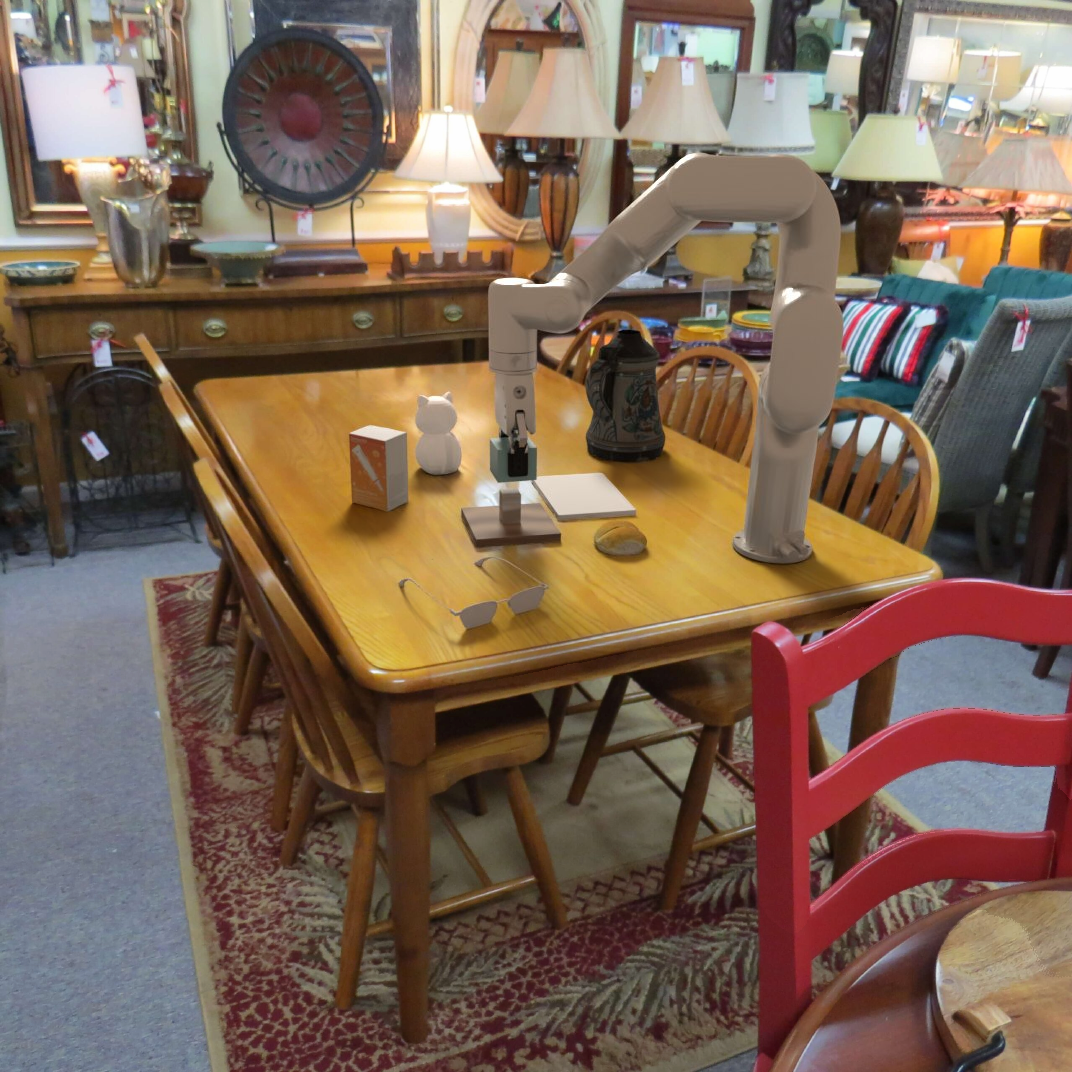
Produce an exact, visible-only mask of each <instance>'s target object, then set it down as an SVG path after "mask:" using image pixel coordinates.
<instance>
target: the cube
mask: <svg viewBox="0 0 1072 1072" xmlns="http://www.w3.org/2000/svg"><path fill="white" fill-rule="evenodd" d="M515 440H518V439H517V438H513V441H514V442H515ZM527 443H528V475H527V476H522V477H509V476H508V453H509V452H510V449H509V437H503V438H499V437H490V438H489V471H490V473H491V474H492V477H494V479H495V481H496V482H497V483H499V484H501V483H513V482H514V483H515V482H528V481H531V480H537V476H538V475H537V473H538V472H537V471H538V469H537V468H538V447H537V446H536V444H535V443H534V442H533V441H532V440H531V438H530V437H529V436H528V440H527Z"/></svg>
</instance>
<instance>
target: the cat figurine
mask: <svg viewBox="0 0 1072 1072" xmlns="http://www.w3.org/2000/svg"><path fill="white" fill-rule="evenodd" d="M416 402H417V409H416V411H415V418H414V420H415V421H414V423H415V425H416V428H417V430H419V431H420V432H421V433H423V434H422V435H421V436H420V437H419V439H418V440H417V443H416V445H415V450H414V451H415V452H414V454H415V459H416V462H417V465H419V467H420V468H421V469H422V470H423V471H424V472H426V473H428V474H430V475H434V476H438V475H440V476H441V475H448V474H454V473H455V472H457V471H458V470H459V468H460V466H461V464H462V460H463V459H462V457H463V456H462V455H463V454H462V446H461V443H460V440H459V439H458V437H457V435H455V434H454V433H453V432H452V430H453V429H454V428H455V426H456V424H457V422H458V421H457V420H458V414H457V410H456V408H455V406H454V405H453V404H454V403H453V402H454V400H453V395H452V393H451V392H450V391H447V392H446V393H444V394H443V395H442V396H439V395H432V396H428V397H427V396H425V395H423V394H418V396H417V401H416Z"/></svg>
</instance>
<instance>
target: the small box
mask: <svg viewBox="0 0 1072 1072" xmlns="http://www.w3.org/2000/svg"><path fill="white" fill-rule="evenodd" d="M348 438H349V439H348V441H349V445H348V446H349V463H350V464H349V466H350V484H351V485H350V487H351V503H352V504H357V505H361V506H366V507H369V508H374V509H376V510H381V511H384V512H385V513H386V512H387V513H388V512H390V511H392V510H394V509H396V508H398V507H400V506H402V505H404V504H406V503H408V502H409V472H408V471H409V469H408V467H409V466H408V433H407V431H403V430H402V431H401V430H396V429H392V428H389V427H382V426H378V425H373V424H372V425H371V424H370V425H366V426H364V427H363V426H362V427H361V428H359V429H356V430H354V431H351V432H349V433H348Z"/></svg>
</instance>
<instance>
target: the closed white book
mask: <svg viewBox="0 0 1072 1072" xmlns="http://www.w3.org/2000/svg"><path fill="white" fill-rule="evenodd" d="M530 481H531V483H532V485H533V487H534V488H535V489H536V491H537V492H538V493H539V495H540V497H541V498H542V499H543V501H544V502H545V503H546V505H547V506H548V508H549V509H550V511H551V512H552V513H553V515H554V516H555V518H556V519H557V521H558V522H559V521H571V520H572V521H573V520H586V519H601V518H615V517H618V518H619V517H630V516H636V515H637V508H635V507H634V506H633V505H632V504H631V502H629V500H628V499H627V498H626V497H625V496H624V495H623V494H622V492H620V490H619V489H618V488H617V487H616V486H615V485H614V484H613V483H612V482H611V481H610V480H609V478H608V477H606V475H605V474H604V473H603V472H591V473H574V474H573V473H571V474H557V475H556V474H555V475H541V476H538V475H537V480H530Z"/></svg>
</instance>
